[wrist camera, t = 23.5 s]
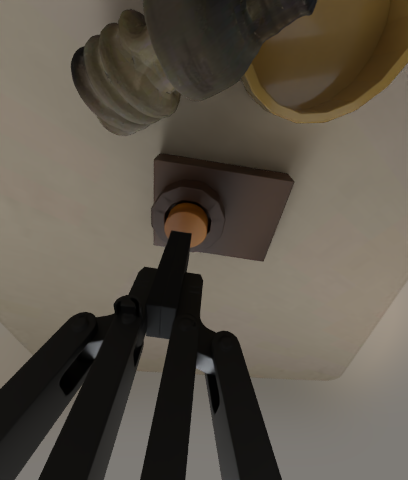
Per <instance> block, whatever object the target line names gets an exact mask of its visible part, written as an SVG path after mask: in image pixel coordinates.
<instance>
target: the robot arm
mask: <svg viewBox="0 0 408 480" xmlns="http://www.w3.org/2000/svg"><path fill="white" fill-rule="evenodd" d="M191 236H192V233H186V232H179V231H173V230H171V233H170V236H169V238H168V241H167V244H166V247H165V250H164V253H163V255H162V258H161V261H160V264H159V267H158V269H156V268H149V267H144V268H143V269H142V270H140V271H139V273H138V275H137V277H136V280H135V281H134V284H133V286H132V288H131V290H130V292H129V295H126V296H122V297H120V298H119V299H117V300H116V301H115V303H114V310H115V313H114V314H112V315H108V316H102V317H95V315H93V314H92V313H88V312H83V313H78V314H76V315H74V316H72V317H71V318H70V319H69V320H68V321H67V322H66V323H65V324H64V325H63V326H62V327H61V328H60V329H59V330H58V331H57V332H56V333H55V334H54V335H53V336H52V337H51V338H50V339H49V340H48V341H47V342H46V343H45V344H44V345H43V346H42V347H41V348H40V349H39V350H38V351H37V352H36V353H35V354H34V355H33V356H32V357H31V358H30V359H29V360H28V362H26V363H25V364H24V365H23V367H21V369H20V370H19V371H18V372H17V373H16V374H15V375H14V376H13V377H12V378H11V379H10V380H9V381H8V382H7V383H6V384H5V385H4V386H3V387H2V388H1V389H0V480H15V478H16V477H17V476H18V474H19V473H20V471H21V470H22V468H23V467H24V466H25V464H26V463H27V461H28V460H29V459H30V457H31V456H32V454H33V453H34V452H35V450H36V449H37V447H38V446H39V444H40V443H41V441H42V440H43V439H44V437H45V436H46V435H47V433H48V432H49V430H50V429H51V428H52V426H53V425H54V423H55V422H56V421H57V419H58V418H59V416H60V415H61V414H62V412H63V411H64V409H65V408H66V406H67V405H68V404H69V402H70V401H71V399H72V398H73V396H74V395H75V394H76V392H77V391H78V390H79V388H80V387H81V385H82V384H83V385H82V387H81V389H80V391H79V393H78V396H77V398H76V400H75V402H74V404H73V406H72V408H71V411H70V413H69V415H68V417H67V419H66V422H65V424H64V426H63V428H62V430H61V432H60V434H59V436H58V438H57V441H56V443H55V445H54V447H53V449H52V451H51V453H50V455H49V458H48V460H47V462H46V464H45V466H44V468H43V471H42V473H41V475H40V477H39V479H38V480H104V477H105V473H106V470H107V466H108V463H109V460H110V457H111V453H112V450H113V447H114V443H115V440H116V436H117V433H118V429H119V426H120V423H121V420H122V416H123V413H124V410H125V406H126V403H127V400H128V396H129V393H130V390H131V386H132V383H133V380H134V376H135V373H136V370H137V366H138V363H139V360H140V356H141V353H142V350H143V345H144V337H145V334H146V336H150V337H157V338H165V339H170V340H169V344H168V349H167V354H166V359H165V364H164V368H163V373H162V378H161V383H160V388H159V392H158V397H157V402H156V407H155V412H154V417H153V422H152V426H151V431H150V436H149V440H148V446H147V450H146V455H145V460H144V464H143V469H142V474H141V479H140V480H185V476H186V465H187V455H188V444H189V434H190V423H191V412H192V401H193V390H194V380H195V369H196V368H197V369H199V370H201V371H203V372H205V378H206V384H207V390H208V396H209V402H210V408H211V415H212V421H213V427H214V434H215V440H216V446H217V452H218V459H219V464H220V471H221V477H222V480H282V478H281V475H280V473H279V469H278V466H277V462H276V459H275V456H274V453H273V450H272V446H271V443H270V440H269V437H268V433H267V430H266V427H265V424H264V421H263V417H262V414H261V411H260V408H259V405H258V401H257V398H256V395H255V392H254V388H253V385H252V382H251V379H250V376H249V372H248V369H247V366H246V363H245V360H244V356H243V353H242V350H241V347H240V343H239V341H238V339H237V337H236V336H235V335H234V334H232V333H230V332H228V331H220V332H217V333H216V332H214V331H212V330H210V329H208V328H206V327H205V326H204V325H203V323H202V322H201V319H200V308H201V297H202V286H203V280H202V277H201V275H200V274H194V273H187V272H186V271H187V266H188V260H189V252H190V244H191ZM83 382H84V383H83Z"/></svg>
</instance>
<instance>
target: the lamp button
mask: <svg viewBox="0 0 408 480" xmlns="http://www.w3.org/2000/svg"><path fill="white" fill-rule="evenodd" d="M207 227H208V218H207V215H206V213H205V211H204V210H203V209H202V208H201V207H199V206H198V205H196V204H193V203H180V204H178V205H176V206H174V207H173V208H172V209H171V211H170V213H169V215H168V217H167V219H166V222H165V225H164V230H165V234H166V236H167V238H169V236H170V233H171V230H173V231H179V232H186V233H192V236H191V244H190V248H191V247H195V246H197V245H199V244H201V243H202V242H203V241H204V239H205V238H206V235H207Z"/></svg>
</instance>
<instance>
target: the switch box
mask: <svg viewBox="0 0 408 480" xmlns="http://www.w3.org/2000/svg"><path fill="white" fill-rule="evenodd" d="M293 184H294V181H293V179H292V178H291V177H290V176H289V174H287V173H281V172H274V171H268V170H262V169H256V168H249V167H243V166H237V165H231V164H224V163H218V162H212V161H206V160H200V159H193V158H187V157H181V156H175V155H168V154H162V153H160V154H159V155H158V156H157V157H156V158H155V159H154V204H153V206H152V209H151V224H152V227H153V229H154V245H157V246H164V247H166V244H167V241H168V238H167V236H166V234H165V230H164V225H165V222H166V219H167V217H168V215H169V213H170V211H171V209H172V208H173V207H174V206H176V205H178V204H180V203H193V204H196V205H198V206H199V207H201V208H202V209H203V210H204V211H205V213H206V215H207V218H208V227H207V235H206V238H205V239H204V241H203V242H202V243H201V244H199V245H197V246H195V247H191V248H190V252H196V251H197V252H203V253H210V254H217V255H223V256H230V257H237V258H243V259H250V260H257V261H264V259H265V256H266V254H267V251H268V248H269V246H270V243H271V241H272V238H273V236H274V233H275V230H276V228H277V225H278V223H279V220H280V218H281V215H282V213H283V210H284V207H285V205H286V202H287V200H288V197H289V195H290V192H291V189H292V187H293Z"/></svg>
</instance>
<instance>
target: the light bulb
mask: <svg viewBox="0 0 408 480" xmlns="http://www.w3.org/2000/svg"><path fill="white" fill-rule="evenodd" d="M316 3H317V0H143V7H144V15H143V14H141V13H139V12H137V11H135V10H132V9H130V10H125V11H123V12H122V14H121V16H120V19H119V21H118V23H110V24H108V25H106V26H105V27H104V29H103V30H102V31H101V34H100V35H96V36H92V37H91V38H90V39H89V40H88V42H87V43H86V44H85V46H84V47H81V48H79V49H78V50H77V51H76V52H75V54H74V56H73V58H72V61H71V72H72V78H73V81H74V84H75V87H76V89H77V91H78V93H79V95H80V97H81V98H82V100H83V101H84V102H85V104H86V105H87V106H88V107H89V108H90V109H91V111H92V112H93V113H95V114H96V115H97V118H98V119H99V121H100V123H101V124H102V125H103V126H104V127H105V128H106V129H107V130H109V131H110V132H112V133H114V134H116V135H122V136H127V135H131V134H134V133H136V132H137V131H140V130H142V129H145V128H146V127H148V126H149V125H150V124H152V123H155V122H157V121H159V120H160V119H161V118H165V117H169V116H170V115H172V114H173V113H174V112H175V111H176V109H177V107H178V104H179V101H180V96H181V95H183V96H184V97H186V98H188V99H189V100H192V101H202V100H204V99H207V98H209V97H211V96H214V95H216V94H218V93H220V92H221V91H223V90H225V89H227V88H229V87H231V86H232V85H234V84H235V83H236V82H238V81H239V80H240V79H241V77H242V76H243V75H244V74H245V73H246V71H247V70H248V68H249V66H250V64H251V63H252V61H253V59H254V58H255V57H256V55H257V54H258V52H259V50H260V48H261V46H262V44H263V43H264V42H265V41H266V40H268V39H269V38H271V37H273V36H275V35H277V34H278V33H279V32H280V31H281V30H282V29H283V28H285V27H286V26H288V25H290V24H291V23H292V22H294V21H295V20H297V19H298V18H300V17H303V16H305V15H306V16H310V15H312V13H313V11H314V9H315V6H316Z"/></svg>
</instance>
